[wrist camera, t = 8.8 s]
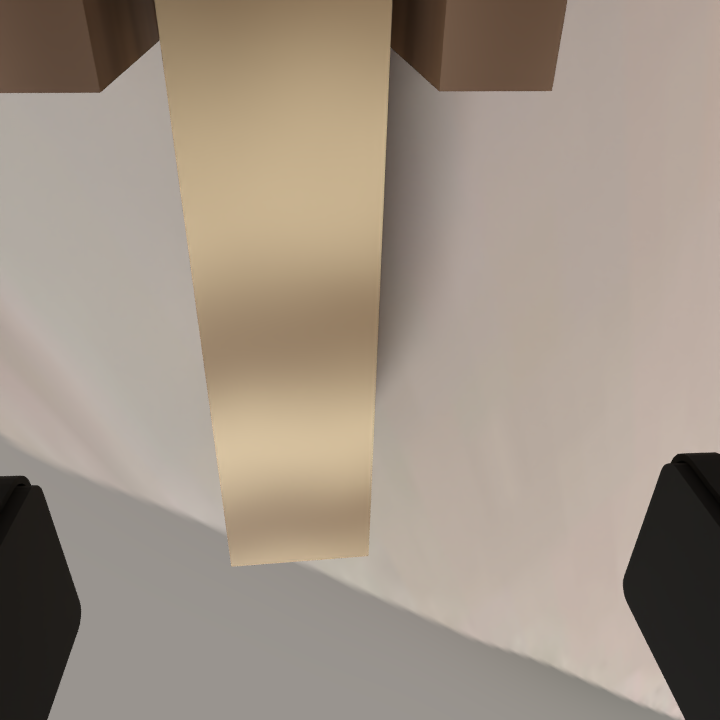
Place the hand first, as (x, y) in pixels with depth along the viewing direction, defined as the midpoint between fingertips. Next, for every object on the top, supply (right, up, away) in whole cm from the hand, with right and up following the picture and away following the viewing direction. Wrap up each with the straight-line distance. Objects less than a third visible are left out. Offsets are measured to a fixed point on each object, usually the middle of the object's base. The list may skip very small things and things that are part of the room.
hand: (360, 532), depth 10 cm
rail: (-2, +7, +9) cm, 11 cm away
